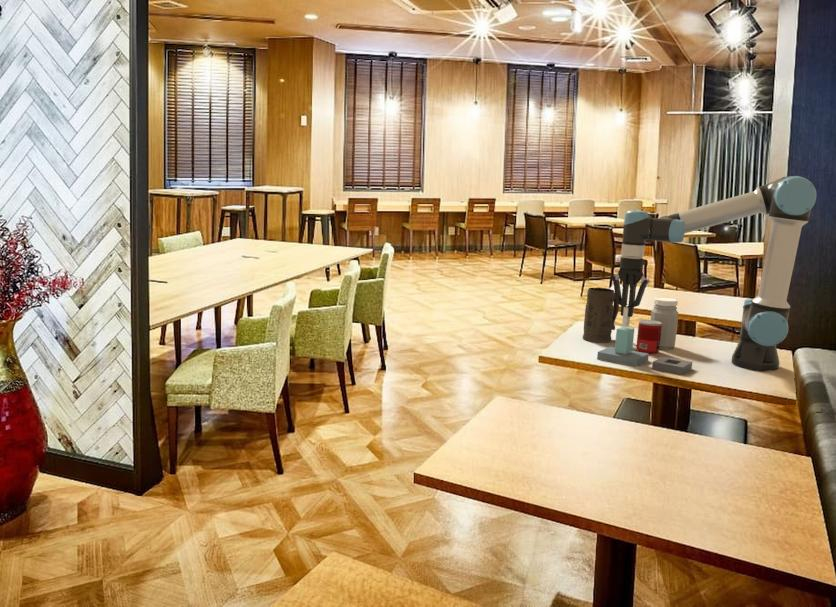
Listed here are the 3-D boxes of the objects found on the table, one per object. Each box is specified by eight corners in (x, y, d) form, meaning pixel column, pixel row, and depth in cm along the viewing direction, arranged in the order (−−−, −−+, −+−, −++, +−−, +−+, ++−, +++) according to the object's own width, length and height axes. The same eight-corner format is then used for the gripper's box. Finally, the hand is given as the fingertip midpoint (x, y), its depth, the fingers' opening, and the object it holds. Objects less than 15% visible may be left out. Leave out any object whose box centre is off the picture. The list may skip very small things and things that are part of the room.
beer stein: (599, 344, 291) (606, 291, 289) (575, 338, 299) (582, 286, 297) (622, 342, 302) (629, 290, 299) (598, 336, 310) (605, 286, 307)
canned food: (661, 354, 280) (664, 324, 278) (639, 353, 280) (642, 323, 278) (655, 349, 287) (658, 320, 285) (633, 348, 287) (636, 319, 285)
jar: (671, 351, 286) (676, 302, 283) (644, 346, 291) (649, 299, 288) (677, 346, 294) (682, 299, 291) (651, 342, 299) (656, 295, 296)
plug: (631, 359, 271) (634, 328, 269) (625, 362, 266) (628, 330, 264) (620, 357, 273) (623, 326, 271) (613, 360, 268) (616, 329, 266)
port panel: (648, 360, 270) (648, 353, 269) (636, 366, 261) (637, 359, 261) (609, 353, 278) (610, 346, 277) (597, 358, 269) (597, 351, 268)
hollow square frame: (691, 369, 261) (692, 361, 260) (682, 374, 253) (683, 367, 252) (661, 363, 267) (662, 356, 266) (651, 369, 259) (652, 361, 258)
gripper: (655, 258, 262) (648, 327, 267) (618, 254, 270) (611, 321, 274) (647, 260, 256) (640, 330, 261) (609, 255, 264) (603, 324, 268)
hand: (625, 325), depth 267 cm, fingers closed
